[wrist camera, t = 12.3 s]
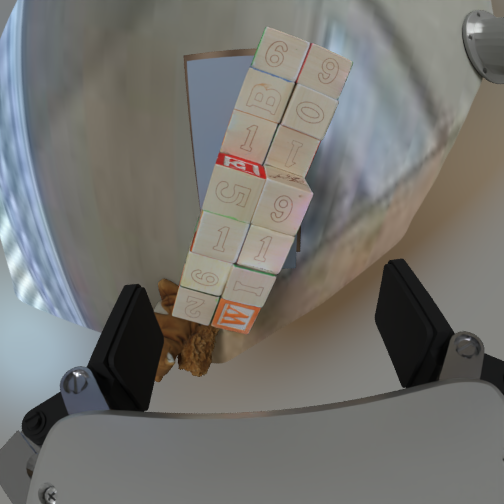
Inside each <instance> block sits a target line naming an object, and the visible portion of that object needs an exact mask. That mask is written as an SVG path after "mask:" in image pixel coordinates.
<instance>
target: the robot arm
mask: <svg viewBox="0 0 504 504" xmlns="http://www.w3.org/2000/svg"><path fill="white" fill-rule="evenodd" d="M463 39H464V44H465V48H466V51H467V54H468V56H469V58H470V60H471V62H472V64H473V65H474V67H475V68H476V70H477V71H478V72H479V73H480V74H481V75H482V76H483V77H484V78H485V79H486V80H488V81H490V82H492V83H496V84H504V17H503V18H502V17H501V18H496V17H495V16H494V15H492V14H491V13H489V12H487V11H484V10H475V11H472V12H470V13H469V14H468V15H467V16H466V18H465V20H464V24H463ZM375 322H376V325H377V327H378V330H379V332H380V334H381V337H382V339H383V341H384V344H385V346H386V348H387V351H388V353H389V356H390V358H391V360H392V363H393V365H394V368H395V370H396V373H397V375H398V378H399V381H400V383H401V385H402V387H403V388H405V387H406V389H402V390H398V391H393V392H389V393H384V394H379V395H375V396H370V397H366V398H361V399H355V400H350V401H344V402H338V403H331V404H325V405H318V406H310V407H303V408H294V409H285V410H273V411H260V412H243V413H214V414H213V413H212V414H192V413H191V414H190V413H189V414H188V413H186V414H185V413H159V412H144V411H147V410H148V408H149V403H150V399H151V394H152V390H153V386H154V381H155V377H156V373H157V369H158V365H159V361H160V357H161V353H162V349H163V345H164V336H163V333H162V331H161V328H160V326H159V323H158V321H157V318H156V316H155V313H154V311H153V308H152V306H151V303H150V300H149V298H148V295H147V292H146V290H145V288H143V287H141V286H140V285H139V284H132V285H125V286H124V288H123V290H122V292H121V294H120V296H119V298H118V300H117V302H116V304H115V306H114V308H113V310H112V312H111V314H110V316H109V318H108V320H107V322H106V325H105V327H104V329H103V331H102V333H101V335H100V338H99V340H98V342H97V345H96V347H95V349H94V351H93V354H92V356H91V358H90V361H89V363H88V366H87V367H82V366H79V367H74V368H72V369H70V370H69V371H67V372H66V374H65V375H64V376H63V377H62V379H61V382H60V391H61V392H59V393H57V394H56V395H54V396H53V397H51V398H50V399H48V400H46V401H45V402H43V403H41V404H40V405H38V406H37V407H35V408H33V409H32V410H30V411H29V412H28V413H27V414H26V415H25V417H24V419H23V421H22V431H21V432H19V431H17V432H16V433H15V434H14V435H13V436H12V437H11V438H10V439H9V440H8V442H7V443H6V444H5V445H4V446H3V447H2V448H1V449H0V485H1V486H2V488H3V490H4V491H5V493H6V494H7V496H8V497H9V499H10V500H11V502H12V503H13V504H504V361H502V360H500V359H497V358H495V357H492V356H490V355H487V354H485V353H484V345H483V343H482V341H481V340H480V338H479V337H477V336H476V335H475V334H472V333H470V332H466V331H463V332H458V333H454V331H453V330H452V328H451V327H450V325H449V324H448V322H447V320H446V319H445V317H444V316H443V314H442V313H441V311H440V310H439V308H438V307H437V305H436V304H435V303H434V301H433V299H432V298H431V296H430V295H429V293H428V292H427V291H426V289H425V288H424V287H423V285H422V284H421V282H420V281H419V279H418V278H417V277H416V275H415V274H414V272H413V271H412V270H411V268H410V267H409V266H408V264H407V263H406V261H405V260H404V259H396V260H390V261H389V262H388V264H386V265H385V266H384V270H383V276H382V282H381V287H380V293H379V298H378V303H377V308H376V313H375Z"/></svg>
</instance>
